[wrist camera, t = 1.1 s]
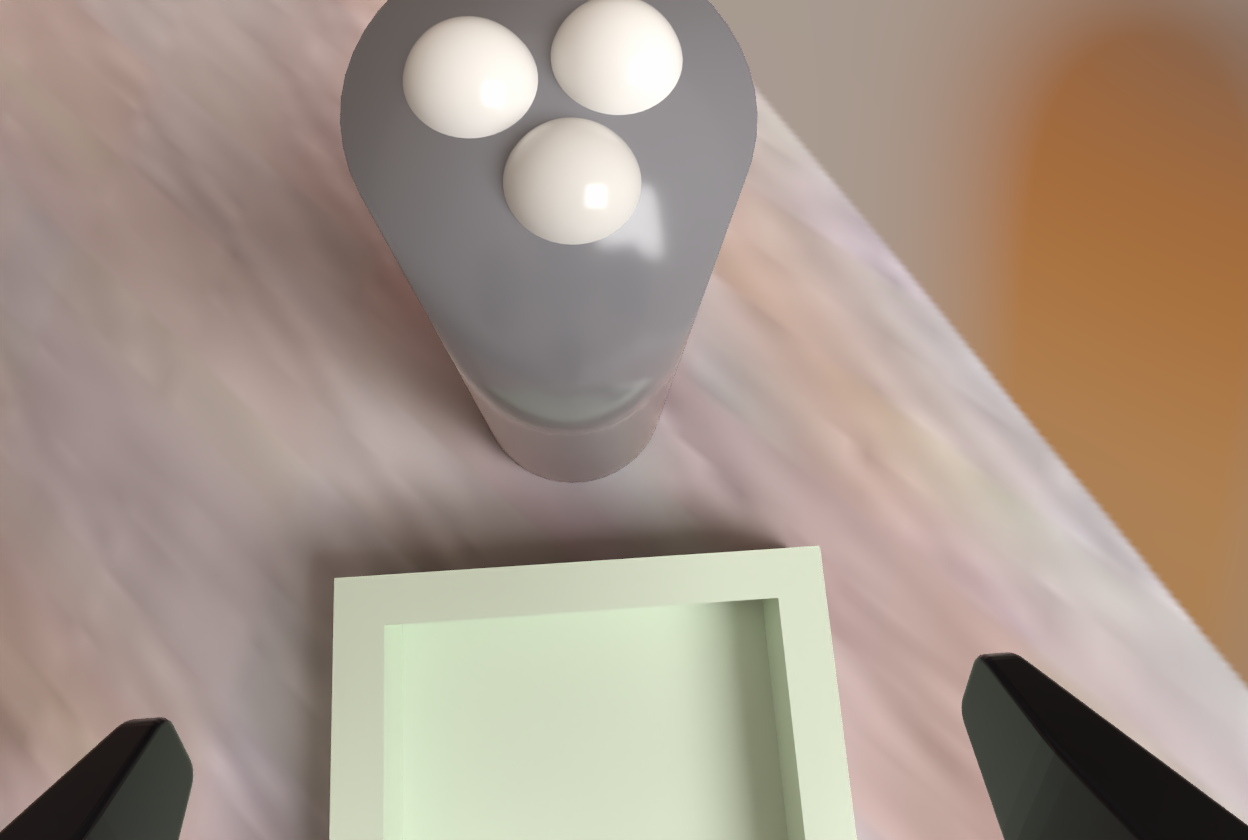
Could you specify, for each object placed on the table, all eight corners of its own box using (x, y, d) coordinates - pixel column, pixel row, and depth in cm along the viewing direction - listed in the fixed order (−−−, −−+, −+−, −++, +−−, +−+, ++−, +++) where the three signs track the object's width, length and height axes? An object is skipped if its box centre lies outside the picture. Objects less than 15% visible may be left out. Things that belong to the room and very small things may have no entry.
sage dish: (852, 1044, 19) (890, 1106, 17) (357, 1095, 19) (323, 1168, 16) (794, 553, 22) (819, 545, 20) (363, 581, 21) (333, 577, 19)
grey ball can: (697, 413, 23) (856, 120, 9) (553, 519, 22) (492, 369, 8) (592, 279, 24) (595, -169, 10) (449, 376, 23) (238, 27, 9)
